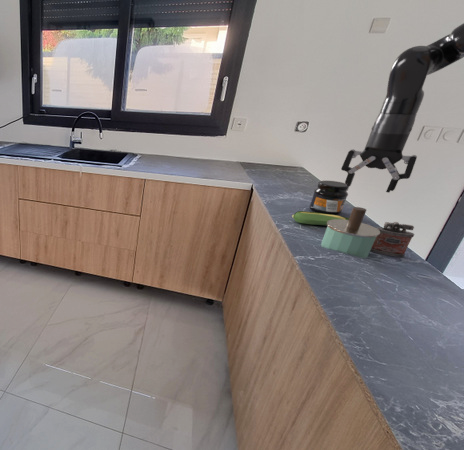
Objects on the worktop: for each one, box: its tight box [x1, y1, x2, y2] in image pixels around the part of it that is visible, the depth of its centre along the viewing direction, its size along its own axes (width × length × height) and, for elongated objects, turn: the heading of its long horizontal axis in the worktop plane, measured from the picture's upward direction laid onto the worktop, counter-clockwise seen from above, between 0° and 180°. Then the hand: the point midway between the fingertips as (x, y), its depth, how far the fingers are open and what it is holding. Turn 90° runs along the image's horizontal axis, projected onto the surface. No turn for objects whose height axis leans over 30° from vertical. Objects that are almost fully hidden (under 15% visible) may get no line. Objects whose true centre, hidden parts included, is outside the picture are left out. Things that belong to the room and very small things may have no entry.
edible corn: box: [291, 210, 350, 226], centre depth 115 cm, size 5×20×5 cm, turn 70°
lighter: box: [370, 221, 415, 258], centre depth 94 cm, size 8×3×10 cm, turn 55°
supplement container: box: [309, 180, 350, 216], centre depth 126 cm, size 10×10×12 cm
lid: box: [326, 206, 380, 237], centre depth 94 cm, size 12×12×7 cm
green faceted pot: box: [320, 225, 376, 259], centre depth 97 cm, size 11×11×8 cm
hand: (367, 188), depth 90 cm, fingers open, 8 cm apart
